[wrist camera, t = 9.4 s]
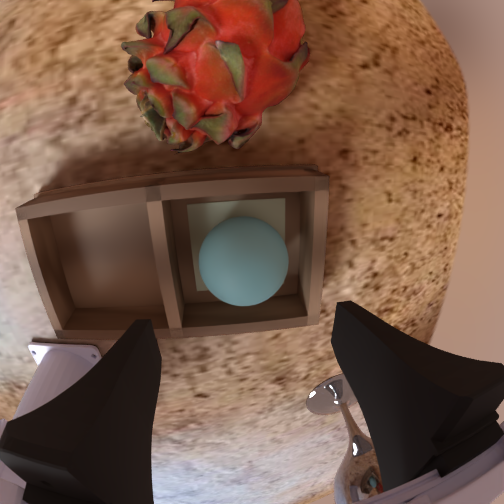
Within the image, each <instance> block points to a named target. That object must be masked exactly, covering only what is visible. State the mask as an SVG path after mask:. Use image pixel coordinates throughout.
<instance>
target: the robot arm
mask: <svg viewBox="0 0 504 504" xmlns="http://www.w3.org/2000/svg"><path fill="white" fill-rule="evenodd" d="M331 344H332V347H333V350H334V353H335V356H336V359H337V361H338V364H339V366H340V368H341V370H342V372H343V374H344V376H345V378H346V380H347V381H348V383H349V385H350V387H351V389H352V391H353V393H354V395H355V397H356V399H357V401H358V403H359V405H360V407H361V410H362V412H363V415H364V418H365V421H366V423H367V426H368V429H369V432H370V436H371V439H372V442H373V446H374V449H375V453H376V457H377V461H378V465H379V470H380V475H381V480H382V485H383V491H384V492H383V493H381V494H378V495H375V496H373V497H370V498H367V499H364V500H361V501H358V502H355V503H351V504H490V503H492V501H494V500H495V499H496V498H497V497H499V496H500V495H501V494H502V493H503V492H504V421H503V422H502V423H501V424H500V425H499V424H498V423H497V421H496V420H497V419H498V418H499V415H498V413H497V412H496V411H495V410H496V409H497V408H498V406H499V405H500V404H501V402H502V401H503V399H504V365H503V364H501V363H495V362H487V361H479V360H475V359H471V358H466V357H462V356H458V355H455V354H452V353H449V352H446V351H443V350H440V349H437V348H435V347H432V346H430V345H428V344H425V343H423V342H421V341H419V340H417V339H415V338H413V337H411V336H409V335H407V334H405V333H403V332H401V331H400V330H398V329H396V328H394V327H393V326H391V325H389V324H388V323H386V322H385V321H383V320H381V319H380V318H378V317H377V316H375V315H373V314H372V313H370V312H369V311H367V310H366V309H364V308H363V307H361V306H359V305H358V304H356V303H354V302H352V301H344V302H337V305H336V312H335V319H334V325H333V332H332V338H331ZM28 348H29V350H30V352H31V353H32V355H33V357H34V359H35V361H36V363H37V364H38V367H37V369H36V371H35V373H34V375H33V377H32V379H31V381H30V383H29V385H28V387H27V389H26V391H25V393H24V395H23V397H22V399H21V401H20V404H19V406H18V408H17V410H16V412H15V414H14V417H13V419H12V420H11V421H7V420H5V419H2V420H0V504H154V501H153V489H152V470H151V442H152V428H153V421H154V415H155V409H156V403H157V398H158V392H159V386H160V380H161V360H162V358H161V354H160V351H159V347H158V344H157V340H156V337H155V333H154V329H153V325H152V321H151V319H136V320H135V321H134V322H133V323H132V325H131V326H130V327H129V328H128V329H127V330H126V331H125V333H124V334H123V335H122V336H121V337H120V338H119V340H118V341H117V342H116V343H115V344H114V345H113V346H112V348H111V349H110V350H109V351H108V352H107V353H106V354H105V355H104V356H103V357H101V355H100V353H99V350H98V348H97V347H96V346H93V345H71V344H51V343H36V342H30V343H29V345H28ZM95 355H96V356H95Z"/></svg>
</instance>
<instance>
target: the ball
mask: <svg viewBox="0 0 504 504" xmlns="http://www.w3.org/2000/svg"><path fill="white" fill-rule="evenodd" d="M288 262H289V260H288V252H287V248H286V245H285V243H284V241H283V239H282V237H281V236H280V234H279V233H278V232H277V231H276V230H275V229H274V228H273V227H272V226H271V225H269V224H268V223H266V222H264V221H263V220H260V219H257V218H254V217H248V216H239V217H233V218H230V219H227V220H225V221H222V222H221V223H219V224H218V225H216V226H215V227H214V228H213V229H212V230H211V231H210V232H209V233H208V234H207V236H206V237H205V239H204V241H203V243H202V246H201V248H200V253H199V270H200V274H201V277H202V279H203V281H204V283H205V285H206V287H207V288H208V289H209V291H210V292H211V293H212V294H213V295H215V296H216V297H217V298H218V299H220V300H222V301H224V302H226V303H228V304H232V305H236V306H251V305H256V304H259V303H261V302H263V301H265V300H267V299H269V298H270V297H271V296H273V295H274V294H275V293H276V292H277V291H278V290H279V288H280V287H281V285H282V284H283V282H284V280H285V277H286V275H287V271H288Z"/></svg>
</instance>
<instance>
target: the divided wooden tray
mask: <svg viewBox="0 0 504 504" xmlns="http://www.w3.org/2000/svg"><path fill="white" fill-rule="evenodd" d="M328 201H329V176H328V175H325V174H323V173H321V172H319V171H318V166H317V165H263V166H241V167H224V168H209V169H197V170H185V171H175V172H165V173H156V174H148V175H140V176H132V177H125V178H117V179H111V180H104V181H98V182H92V183H86V184H80V185H74V186H69V187H64V188H58V189H53V190H49V191H44V192H39V193H36V194H34V199H32V200H30V201H28V202H26V203H25V204H23V205H21V206H19V207H17V208H15V209H16V213H17V218H18V223H19V227H20V231H21V235H22V239H23V243H24V246H25V250H26V254H27V257H28V260H29V264H30V267H31V270H32V273H33V276H34V279H35V282H36V285H37V288H38V291H39V294H40V296H41V299H42V302H43V304H44V307H45V310H46V312H47V315H48V317H49V319H50V322H51V324H52V327H53V329H54V331H55V333H56V336H57V338H58V339H95V340H119V338H120V337H121V336H122V335H123V334H124V333H125V331H126V330H127V329H128V328H129V327H130V326H131V325H132V323H133V322H134V321H135V320H136V319H151V321H152V325H153V329H154V333H155V337H156V339H165V338H186V337H203V336H217V335H229V334H241V333H251V332H261V331H270V330H279V329H287V328H295V327H303V326H310V325H318V324H319V316H320V307H321V298H322V288H323V277H324V265H325V252H326V238H327V221H328ZM239 216H248V217H254V218H257V219H260V220H263V221H264V222H266V223H268V224H269V225H271V226H272V227H273V228H274V229H275V230H276V231H277V232H278V233H279V234H280V236H281V237H282V239H283V241H284V243H285V245H286V248H287V252H288V260H289V262H288V271H287V275H286V277H285V280H284V282H283V284H282V285H281V287H280V288H279V290H278V291H277V292H276V293H275V294H274V295H273V296H271V297H270V298H269V299H267V300H265V301H263V302H261V303H259V304H256V305H251V306H236V305H232V304H228V303H226V302H224V301H222V300H220V299H218V298H217V297H216V296H215V295H213V294H212V293H211V292H210V291H209V289H208V288H207V287H206V285H205V283H204V281H203V279H202V277H201V274H200V270H199V253H200V248H201V246H202V243H203V241H204V239H205V237H206V236H207V234H208V233H209V232H210V231H211V230H212V229H213V228H214V227H215V226H216V225H218V224H219V223H221V222H222V221H225V220H227V219H230V218H233V217H239Z"/></svg>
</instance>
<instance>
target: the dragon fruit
mask: <svg viewBox="0 0 504 504" xmlns="http://www.w3.org/2000/svg"><path fill="white" fill-rule="evenodd" d="M154 1H174V2H175V4H174V8H173V9H172V10H169V11H167V12H166V13H165V12H161V11H149V12H147V13H146V14H145V16H144V17H143V18H142V19H141V20H140V21H139V23H137V24H136V32H137V33H138V34H139V35H141V36H143V37H146V38H147V39H143V40H137V41H131V42H123V43H122V45H121V47H122V49H123V50H124V51H126V52H127V53H128V54H130V55H132V56H131V57H130V59H129V60H128V69H129V71H130V72H132V74H131V75H130V76H129V78H128V79H127V80H126V81H125V83H124V85H125V86H126V88H127V89H128V90H129V91H130V92H131V93H133V94H135V95H137V98H136V102H137V105H138V107H139V109H140V111H141V114H142V115H143V116H141V117H143V118H144V119H145V123H146V125H147V126H149V127H151V130H152V131H154V132H155V135H156V137H157V139H158V140H159V141H162V140H164V138H166V139H167V144H179V143H180V147H179V149H171V151H178V153H180V152H189V151H193V150H195V149H197V148H198V147H200V146H202V144H204V143H205V142H208V141H211V140H213V141H214V142H215V143H217V144H220V143H222V142H224V141H225V140H226V139H228V138H229V139H228V143H229V145H230V146H232V147H233V148H235V149H239V148H241V147H242V146H243V145H244V143H246V142H247V141H248V140H249V138H250V137H251V136H252V135H253V134H254V133H255V132H256V131H257V130H258V129H259V127H260V126H261V124H262V112H263V111H264V110H265V109H266V108H267V107H270V106H274V105H277V104H279V103H280V102H281V101H282V100H284V99H285V98H286V97H287V96H288V95H289V94H290V93H291V92H292V91H293V89H294V88H295V86H296V83H297V81H298V78H299V71H300V70H301V69H302V68H303V67H304V66H305V65H306V64H307V63H308V62H309V58H310V49H309V48H308V46H307V42H304V44H303V37H302V36H303V34H304V33H305V24H304V21H303V15H302V9H301V6H300V4H299V2H298V0H152V2H154ZM151 30H152V32H153V33H154V35H153V38H151V37H152V34H151ZM239 132H240V133H239ZM176 154H177V153H176ZM174 155H175V154H174Z"/></svg>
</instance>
